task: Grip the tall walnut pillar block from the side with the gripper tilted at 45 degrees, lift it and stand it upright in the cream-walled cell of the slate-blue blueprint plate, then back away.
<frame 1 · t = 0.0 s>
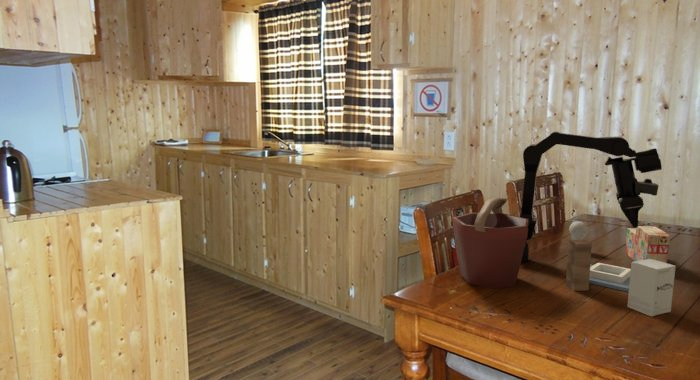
hand: (634, 224, 163), 15 cm above the table, tool pointing down, fingers open, 9 cm apart
supplement box: (648, 310, 135), on the table
lightbulb: (576, 251, 190), on the table
walnut pillar: (577, 287, 152), on the table
stack of blocks: (644, 262, 176), on the table
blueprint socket: (608, 278, 159), on the table
bucket: (491, 279, 160), on the table
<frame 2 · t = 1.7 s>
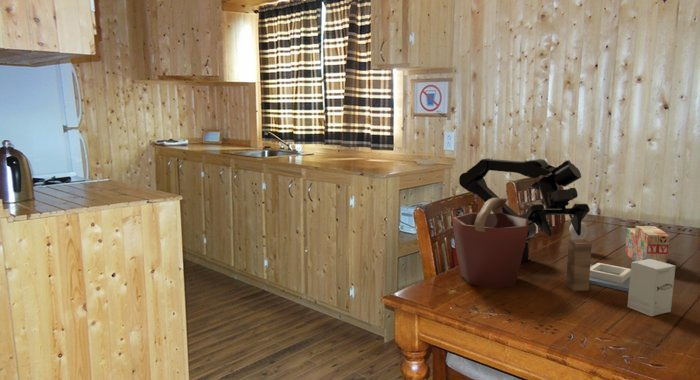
hand: (565, 235, 158), 13 cm above the table, tool tilted 45°, fingers open, 9 cm apart
nothing on the table moved.
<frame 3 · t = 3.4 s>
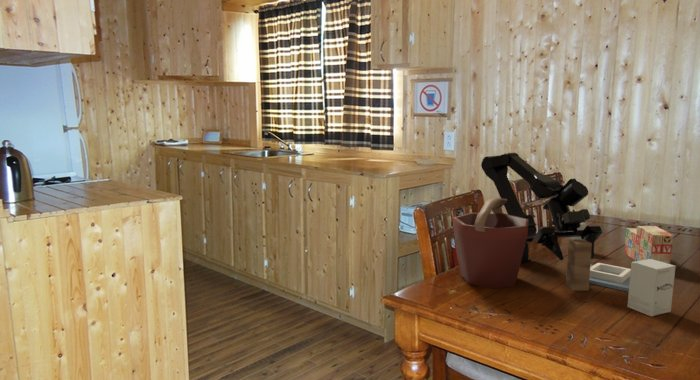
hand: (577, 259, 151), 8 cm above the table, tool tilted 45°, fingers open, 9 cm apart
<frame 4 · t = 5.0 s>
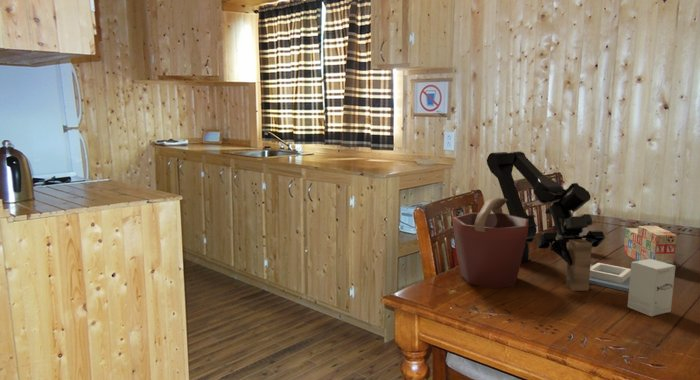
hand: (579, 264, 150), 7 cm above the table, tool tilted 45°, fingers closed on walnut pillar, 4 cm apart
walnut pillar: (577, 287, 152), on the table, touching gripper
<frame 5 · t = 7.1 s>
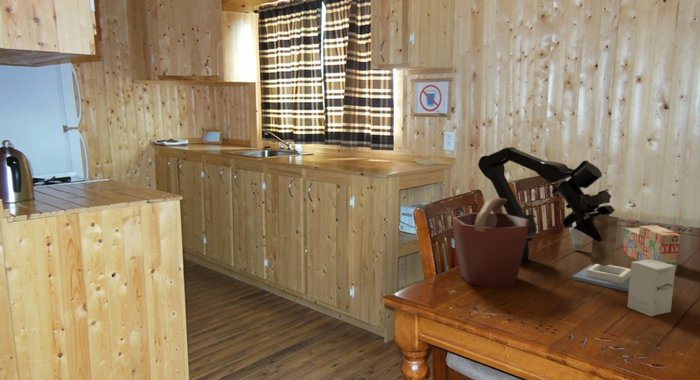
hand: (605, 239, 153), 13 cm above the table, tool tilted 45°, fingers closed on walnut pillar, 4 cm apart
walnut pillar: (602, 262, 155), point 6 cm above the table, touching gripper
when the fingers open (9 cm above the table, at t = 9.3 s): walnut pillar drops 1 cm, resting on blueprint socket.
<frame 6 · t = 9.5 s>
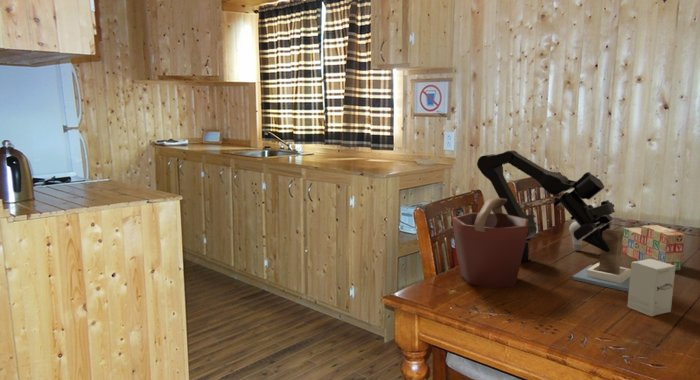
hand: (612, 249, 157), 10 cm above the table, tool tilted 45°, fingers open, 7 cm apart
walnut pillar: (608, 275, 159), point 1 cm above the table, touching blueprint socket
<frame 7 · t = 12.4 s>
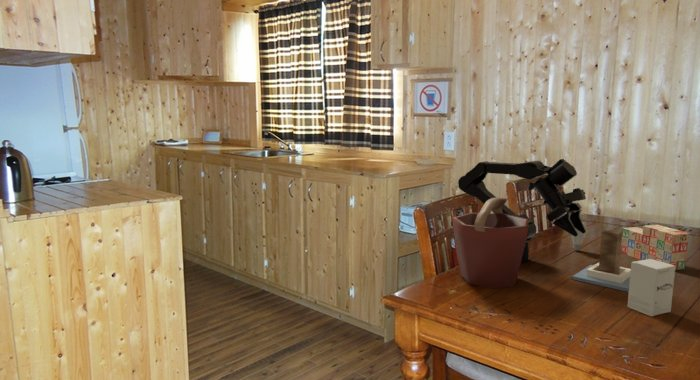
hand: (580, 234, 163), 13 cm above the table, tool tilted 40°, fingers open, 9 cm apart
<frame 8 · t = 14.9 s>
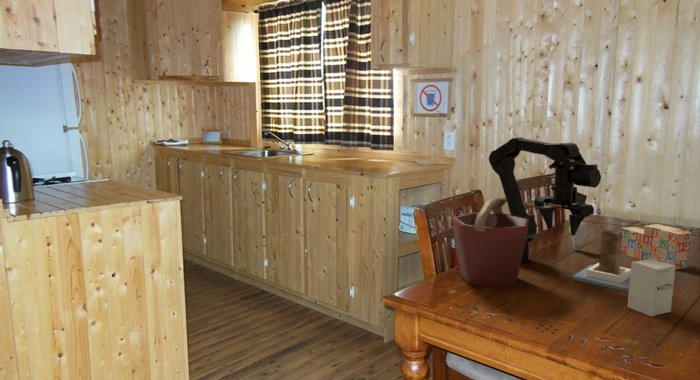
hand: (561, 232, 164), 13 cm above the table, tool pointing down, fingers open, 9 cm apart
at the end: walnut pillar 0.1 cm off-centre on the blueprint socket, point 1.0 cm above the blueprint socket's base; walnut pillar tilted 0°; the gripper is holding nothing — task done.
